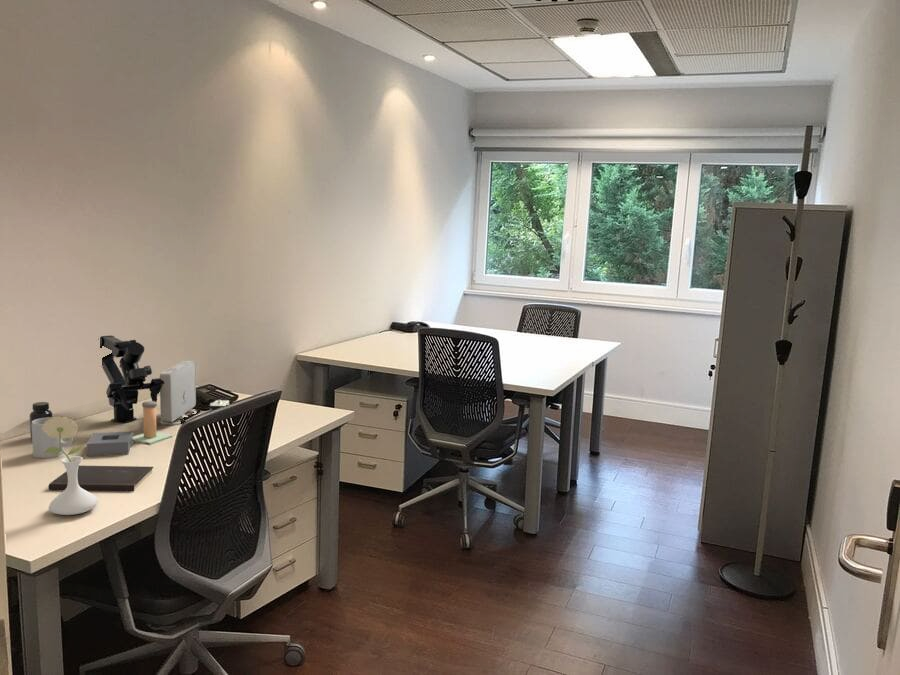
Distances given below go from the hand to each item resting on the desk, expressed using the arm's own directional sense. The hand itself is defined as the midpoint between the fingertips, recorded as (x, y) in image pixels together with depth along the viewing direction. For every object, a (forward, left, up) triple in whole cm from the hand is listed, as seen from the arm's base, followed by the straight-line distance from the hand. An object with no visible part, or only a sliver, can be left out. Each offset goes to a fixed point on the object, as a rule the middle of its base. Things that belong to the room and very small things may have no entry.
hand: (142, 408), depth 254 cm
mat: (+7, -3, -9) cm, 12 cm away
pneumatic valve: (+22, +14, -9) cm, 27 cm away
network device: (-4, +21, -9) cm, 24 cm away
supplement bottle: (-24, -20, -9) cm, 33 cm away
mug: (-6, -30, -9) cm, 32 cm away
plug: (+7, -3, -9) cm, 11 cm away
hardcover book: (+26, -40, -10) cm, 49 cm away
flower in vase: (+36, -59, -9) cm, 70 cm away
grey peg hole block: (+5, -18, -9) cm, 21 cm away
